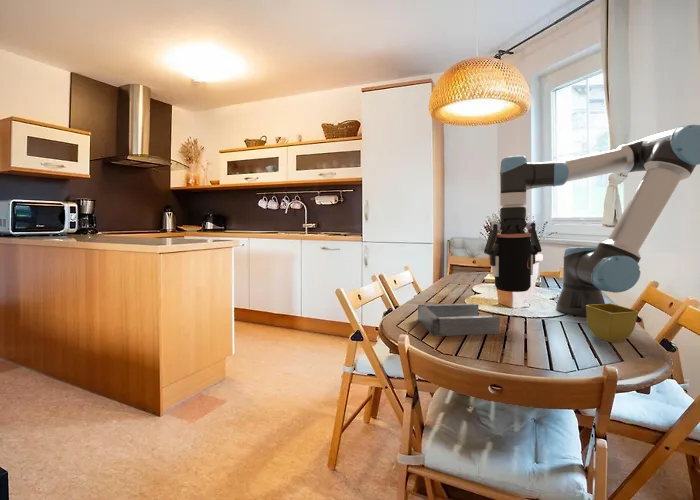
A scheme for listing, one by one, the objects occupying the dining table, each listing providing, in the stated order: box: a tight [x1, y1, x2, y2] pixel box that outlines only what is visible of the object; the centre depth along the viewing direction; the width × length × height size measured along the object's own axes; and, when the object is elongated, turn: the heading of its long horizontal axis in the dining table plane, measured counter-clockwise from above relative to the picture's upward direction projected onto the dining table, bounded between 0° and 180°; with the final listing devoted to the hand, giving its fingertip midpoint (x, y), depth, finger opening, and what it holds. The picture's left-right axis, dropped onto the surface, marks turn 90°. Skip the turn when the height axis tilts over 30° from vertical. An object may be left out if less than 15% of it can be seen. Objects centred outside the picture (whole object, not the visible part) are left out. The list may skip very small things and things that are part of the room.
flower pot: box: [586, 302, 639, 343], centre depth 102 cm, size 9×9×9 cm
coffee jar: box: [494, 232, 532, 293], centre depth 118 cm, size 11×11×18 cm
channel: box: [417, 302, 501, 337], centre depth 115 cm, size 20×17×5 cm
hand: (512, 275), depth 118 cm, fingers closed on coffee jar, 11 cm apart
